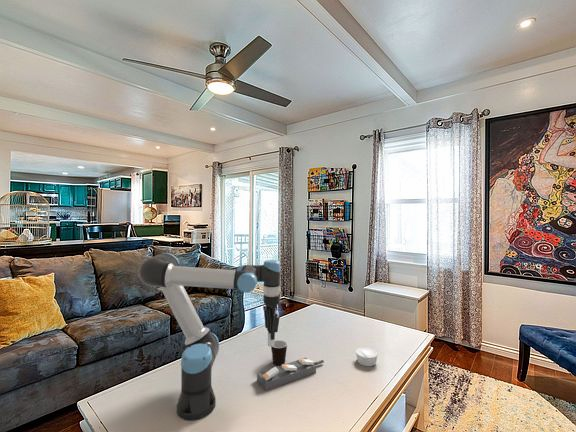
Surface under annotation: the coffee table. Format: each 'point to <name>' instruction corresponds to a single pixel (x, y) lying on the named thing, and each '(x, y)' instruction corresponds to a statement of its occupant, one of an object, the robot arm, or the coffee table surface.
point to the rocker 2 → (289, 367)
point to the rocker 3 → (306, 361)
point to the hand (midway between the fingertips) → (271, 345)
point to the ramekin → (366, 356)
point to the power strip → (287, 374)
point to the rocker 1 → (270, 373)
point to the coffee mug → (279, 352)
